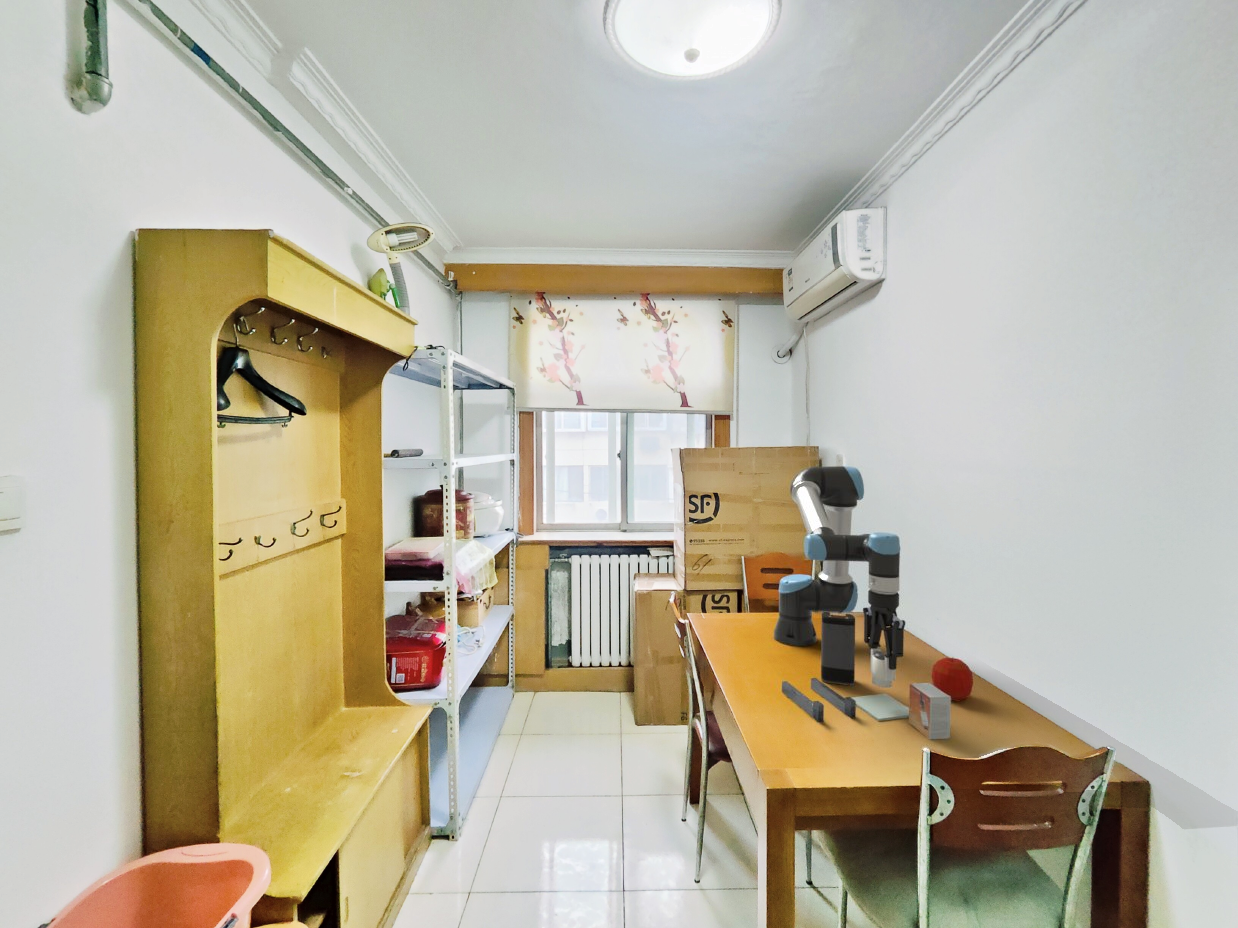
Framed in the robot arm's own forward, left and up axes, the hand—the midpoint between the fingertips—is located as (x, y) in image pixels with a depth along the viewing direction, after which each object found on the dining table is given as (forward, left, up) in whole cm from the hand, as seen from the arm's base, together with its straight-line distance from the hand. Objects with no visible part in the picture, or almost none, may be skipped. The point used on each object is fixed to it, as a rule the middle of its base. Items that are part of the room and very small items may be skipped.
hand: (882, 675), depth 146 cm
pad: (0, 0, -9) cm, 9 cm away
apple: (-1, +24, -9) cm, 26 cm away
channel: (-6, -16, -9) cm, 19 cm away
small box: (+13, +3, -9) cm, 16 cm away
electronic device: (-18, -1, -9) cm, 20 cm away
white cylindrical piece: (0, 0, -2) cm, 2 cm away
